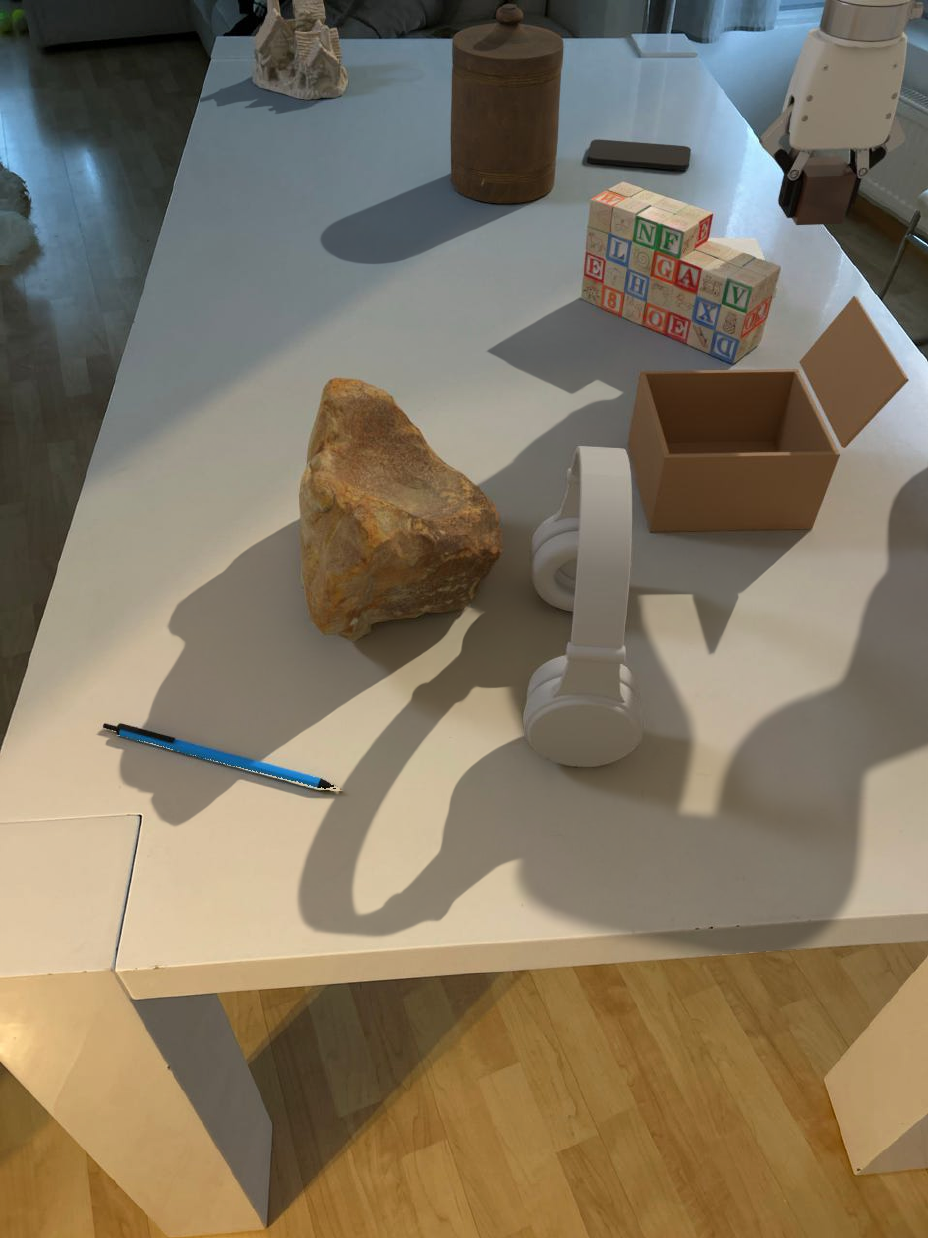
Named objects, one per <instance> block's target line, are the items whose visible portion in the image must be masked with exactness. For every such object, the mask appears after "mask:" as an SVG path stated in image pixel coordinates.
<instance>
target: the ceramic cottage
mask: <svg viewBox="0 0 928 1238" xmlns="http://www.w3.org/2000/svg"><path fill="white" fill-rule="evenodd" d="M291 2H292V13H293V16H294V18H289V19H288V18H287V19H285V18H284V17H282V15H281V8H280V2H279V0H266V3H267V4H266V5H267V6H266V7H267V12H266V15H265V17H264V20H263V23H262V25H261V26H260V27H259V30H258V32H257V33H256V34H255V37H254V38H252V40H251V42H253V46H254V47H255V48H254V50H253V53H254V59H255V62H254V63H253V67H252V83H253V84H254V85H256V87H258V88H259V89H263V90H268V91H271V92H273V93H278V94H282V95H287V96H289V97H292V98H294V99H300V100H305V101H308V100H309V101H311V100H318V99H319V100H320V99H321V98H322V99H323V98H324V99H325V98H326V99H329V98H331V99H334V98H336V99H337V98H338V97H341V96H343V95H344V94H345V92H346V90H347V87H348V85H349V78H348V72H347V69H346V68H345V66H344V65H343V64H342V63H341V61H342V60H343V55H342V48H341V43H340V40H339V39H340V37H339V32H338V28H337V27H333V28H332V27H331V28H329V25H326V24H325V22H326V19H327V17H326V8H325V5H324V0H292V1H291Z"/></svg>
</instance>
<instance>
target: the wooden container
mask: <svg viewBox="0 0 928 1238" xmlns="http://www.w3.org/2000/svg"><path fill="white" fill-rule="evenodd" d="M523 13H524V12H523V11H522V10H521V8H519V7H517V4H515V3H506V4H503V5H502V6H500V7H499V8H498V9H497V10H496V14H495V18H496V21H497V23H496V22H495V23H484V24H479V25H474V26H470V27H466V28H464V29H462V30H459V31H458V32H456V33H455V34H454V36H453V37H452V42H451V43H452V44H451V60H452V61H451V62H452V65H451V100H450V101H451V102H450V182H451V185H452V187H453V188H454V190H456V192H458V193H459V194H461V195H463V196H465V197H467V198H470V199H473V200H476V201H479V202H484V203H491V204H503V205H504V204H508V205H509V204H520V203H526V202H531V201H533V200H537V199H539V198H542V197H544V196H546V195H548V193H550V192H552V190H553V188H554V186H555V180H556V179H555V177H556V167H557V166H556V163H557V162H556V161H557V153H558V142H559V125H560V123H559V122H560V120H559V119H560V100H561V99H560V98H561V84H562V83H561V82H562V69H563V63H564V62H563V60H564V48H565V47H564V46H565V45H564V40H563V38H562V37H561V36H560V35H559V34H558V33H556V32H554V31H552V30H550V29H547V28H544V27H540V26H536V25H531V24H523V23H521V22H522V21H523V19H524V14H523Z"/></svg>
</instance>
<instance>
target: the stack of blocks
mask: <svg viewBox="0 0 928 1238" xmlns="http://www.w3.org/2000/svg"><path fill="white" fill-rule="evenodd" d="M713 217H714V212H713V211H709V210H706V209H704V208H700V207H697V206H695V205H691V204H689V203H686V202H683V201H680V200H677V199H675V198H671V197H668V196H665V195H661V194H659V193H656V192H653V191H650V190H647V189H644V188H642V187H640V186H637V185H634V184H631V183H628V182H625V181H621V182H619V183H617V184H615V185H614V186H612V187H610V188H607V190H604V191H602V192H601V193H598V194H597V195H594V196H593V197H592V198H590V201H589V211H588V224H587V227H586V228H587V229H586V239H585V253H584V265H583V275H582V283H581V292H580V293H581V295H580V297H581V299H580V300H583V301H585V302H587V303H590V304H592V305H594V306H596V307H598V308H601V309H603V310H605V311H607V312H610V313H612V314H614V315H616V316H618V317H621V318H623V319H626V320H628V321H629V322H632V323H635V324H637V325H640V326H644V327H645V328H648V329H650V330H652V331H655V332H657V333H660V334H662V335H665V336H666V337H667V336H668V337H670V338H672V339H674V340H677V341H679V342H681V343H684V344H686V345H687V346H690V347H692V348H694V349H696V350H699V351H701V352H703V353H706V354H710V356H713V357H715V358H717V359H719V360H722V361H725V362H727V363H729V364H731V365H734V364H735V363H736V362H738V361H739V360H740V359H742V358H743V357H744V356H746V355H747V354H748V353H750V352H751V351H753V349H755V348H757V346H758V345H760V343H761V342H762V340H763V339H762V338H763V334H764V331H765V326H766V322H767V319H768V317H769V314H770V313H769V312H770V308H771V305H772V302H773V298H774V297H773V293H774V292H775V288H776V287H777V285H778V281H779V276H780V273H781V270H782V266H781V265H778V264H775V263H773V262H770V261H767V260H765V261H764V260H762V259H759V258H756V257H755V256H752V255H749V254H746V253H744V252H741V251H738V250H735V249H732V248H730V247H728V246H725V245H722V244H719V243H716V242H713V241H708V239H709V238H710V235H711V234H710V233H711V228H712V223H713ZM772 297H773V298H772Z"/></svg>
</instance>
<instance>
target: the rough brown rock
mask: <svg viewBox="0 0 928 1238" xmlns="http://www.w3.org/2000/svg"><path fill="white" fill-rule="evenodd" d="M318 406H319V407H318V410H317V414H316V417H315V421H314V423H313V426H312V429H311V432H310V436H309V441H308V445H307V452H306V453H307V455H306V465H305V470H304V472H303V474H302V475H301V480H300V486H299V493H298V504H299V523H300V526H299V529H300V535H299V537H300V564H301V566H300V581H301V582H300V583H301V588H302V589H303V592H304V593H303V594H304V600H305V604H306V607H307V612H308V616H309V620H310V621H311V622H312V623H313V624H314V626H315V627H316V628H317V629H318V630H319V631H320V632H321V633H322V634H323V635H329V636H331V635H332V636H335V635H336V636H337V635H338V636H339V637H341V638H344V639H346V640H349V641H351V642H352V643H353V642H354V641H356V640H358V639H360V638H362V637H363V636H365V635H367V634H371V631H372V626H373V625H374V624H376V623H377V622H379V623H381V622H387V621H390V620H403V619H404V620H405V619H415V618H418V617H420V616H423V615H424V614H426V613H449V612H455V611H459V610H460V611H461V610H464V609H465V607H467V606H468V605H469V603H471V602H472V601H473V600H474V598H475V596H476V594H477V593H478V590H479V588H480V587H481V586H480V585H481V583H482V581H484V580H485V578H486V577H487V576H488V574H489V573H490V572H491V570H492V569H493V568H494V566H495V564H496V563H497V562H498V561H499V559H500V557H501V556H502V554H503V542H504V540H503V539H504V538H503V537H504V536H503V532H502V529H501V525H500V522H501V516H500V514H499V512H498V510H497V507H496V505H495V504H494V503H493V502H492V501H491V500H490V498H489V496H487V494H485V492H484V491H483V490H482V489H481V488H480V486H478V485H477V484H475V483H474V482H472V480H471V479H470V478H469V477H468V476H466V475H465V474H464V473H463V472H461V471H459V470H457V469H455V468H454V467H452V466H451V465H449V464H447V463H446V461H444V460H443V459H442V458H440V456H439V455H438V454H437V453H436V452H435V451H434V450H433V448H432V447H431V446H430V444H428V442H427V440H426V438H425V436H424V435H423V433H422V431H421V429H420V428H419V427H417V425H415V424H414V423H413V422H412V421H411V420H410V418H409V417H408V415H407V414H406V413H405V411H404V410H403V409H402V407H401V406H399V405H398V403H397V402H396V401H395V399H394V397H393V395H391V394H389V393H388V392H387V391H385V390H384V389H382V388H380V387H378V386H376V385H373V384H370V383H368V382H365V381H363V380H362V379H358V378H348V377H347V378H346V377H333V378H330V379H329V380H328V382H327V383H325V385H324V387H323V389H322V393H321V397H320V402H319V405H318Z"/></svg>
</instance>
